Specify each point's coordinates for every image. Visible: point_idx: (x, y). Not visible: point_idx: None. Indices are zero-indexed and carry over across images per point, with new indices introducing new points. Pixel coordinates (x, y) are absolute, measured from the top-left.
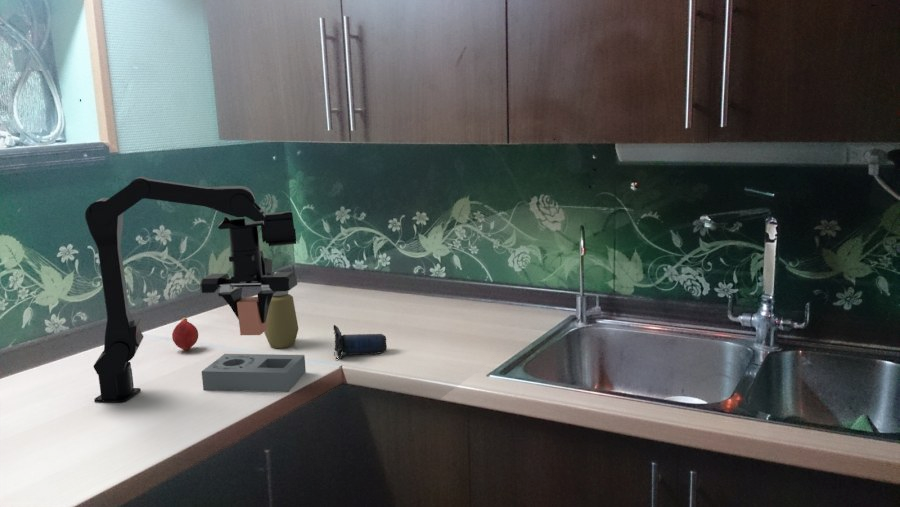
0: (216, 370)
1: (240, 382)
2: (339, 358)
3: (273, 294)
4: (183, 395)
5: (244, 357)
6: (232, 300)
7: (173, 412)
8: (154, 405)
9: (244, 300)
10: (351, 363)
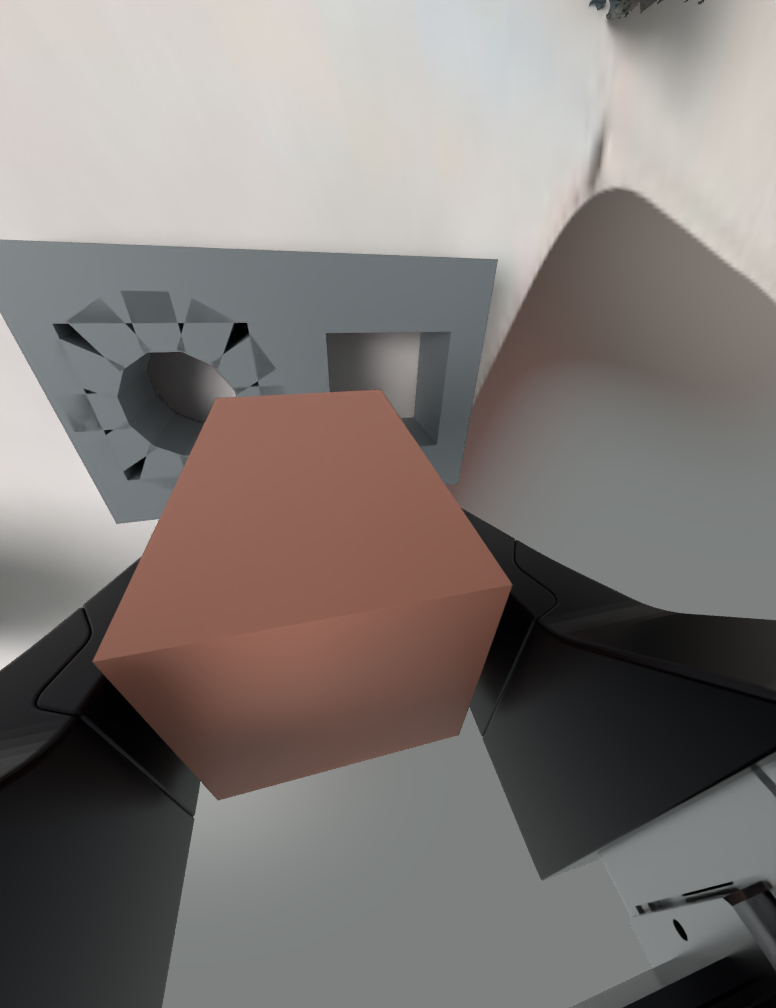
0: None
1: None
2: (615, 5)
3: (687, 619)
4: (110, 527)
5: (183, 321)
6: (179, 865)
7: None
8: (90, 594)
9: (273, 751)
10: (649, 91)
